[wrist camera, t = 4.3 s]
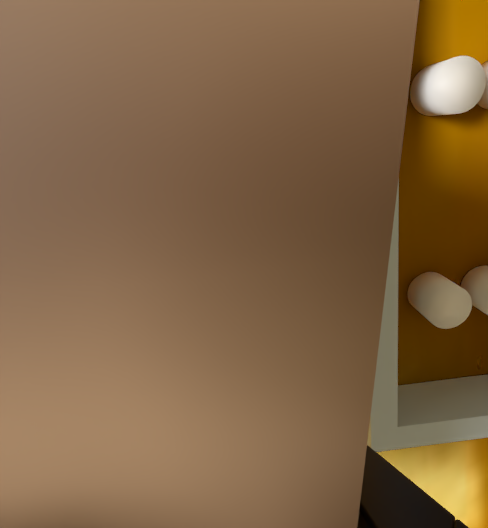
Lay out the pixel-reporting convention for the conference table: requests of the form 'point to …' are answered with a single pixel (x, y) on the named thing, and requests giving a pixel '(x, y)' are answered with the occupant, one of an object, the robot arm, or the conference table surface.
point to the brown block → (194, 256)
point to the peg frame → (432, 304)
